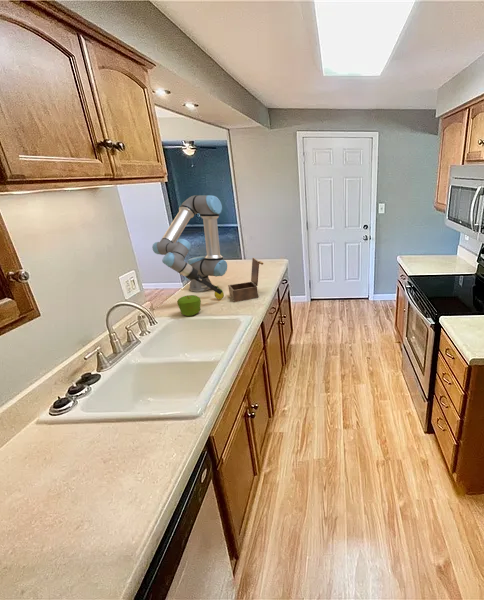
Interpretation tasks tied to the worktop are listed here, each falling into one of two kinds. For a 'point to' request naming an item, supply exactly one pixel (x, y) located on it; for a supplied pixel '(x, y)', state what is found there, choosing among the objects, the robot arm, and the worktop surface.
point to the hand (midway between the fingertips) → (217, 290)
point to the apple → (189, 305)
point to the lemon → (219, 295)
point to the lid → (255, 271)
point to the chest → (243, 291)
